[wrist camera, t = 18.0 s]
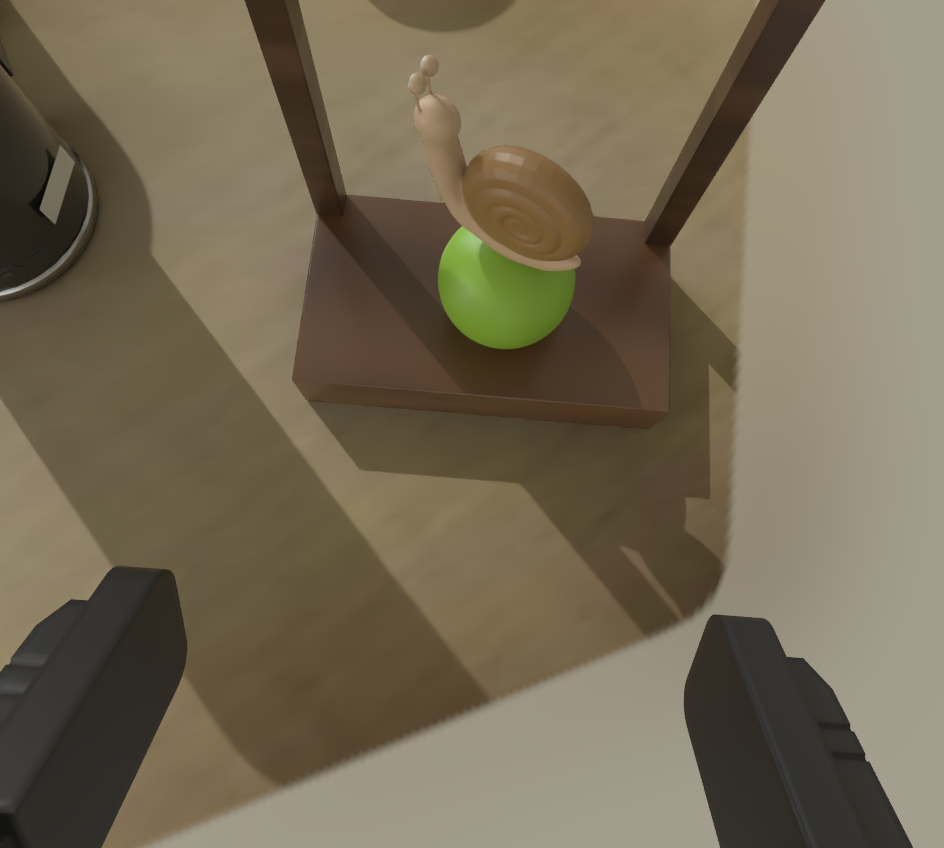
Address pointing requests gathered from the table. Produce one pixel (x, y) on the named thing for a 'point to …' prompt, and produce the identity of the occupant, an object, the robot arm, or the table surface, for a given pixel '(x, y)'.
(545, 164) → the snail figurine
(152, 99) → the table surface
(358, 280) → the shelf unit
